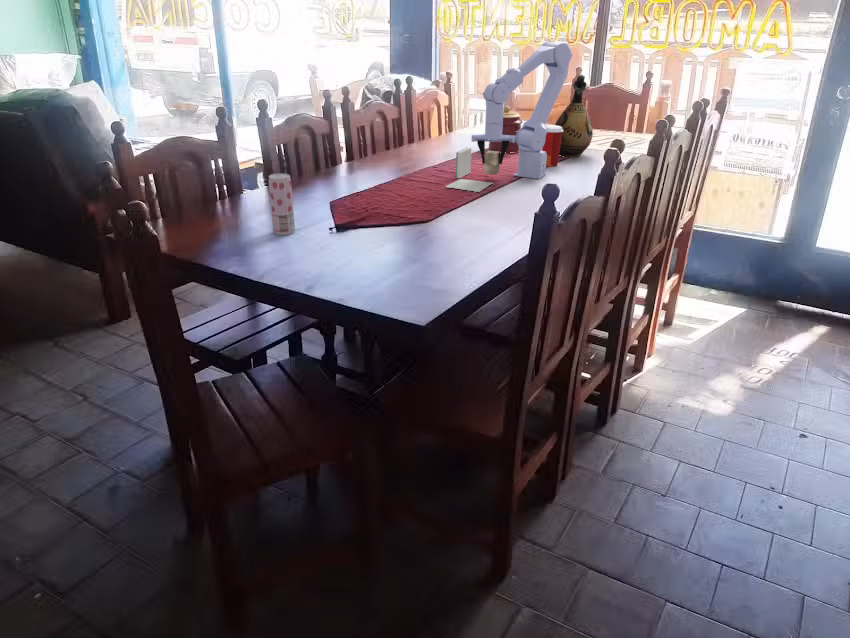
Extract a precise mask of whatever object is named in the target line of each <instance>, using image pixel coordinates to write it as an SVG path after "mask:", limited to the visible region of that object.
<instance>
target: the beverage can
mask: <svg viewBox="0 0 850 638" xmlns="http://www.w3.org/2000/svg"><path fill="white" fill-rule="evenodd" d="M268 188H269V190H268V191H269V199H270V209H271V211H270V213H271V222H272V232H273V233H274V234H275V235H277V236H289V235H293V234H294V233H295V231H296V224H295V214H294V211H295V210H294V204H293V203H294V201H293V200H294V199H293V190H292V189H293V188H292V179H291V175H290V174H289V173H283V172H281V173H272V174H270V175H268Z"/></svg>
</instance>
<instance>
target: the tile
mask: <svg viewBox="0 0 850 638" xmlns="http://www.w3.org/2000/svg"><path fill="white" fill-rule="evenodd" d="M455 162H456V163H455V179H456V178H461V177H463V176H465V175H467V174H469V173H470V174H471V172H472V171H471V169H472V168H471V164H472V147H466V148H463V149H461V150H459V151H457V152H456V159H455ZM470 174H469V175H470ZM467 176H468V175H467ZM465 177H466V176H465ZM463 178H464V177H463ZM461 179H462V178H461Z"/></svg>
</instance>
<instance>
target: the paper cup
mask: <svg viewBox="0 0 850 638" xmlns="http://www.w3.org/2000/svg"><path fill="white" fill-rule="evenodd" d="M545 127H546V129H547V134H546V137H545V144H544V146H543V147H542V148H541V151H545V152H546V154H547V161H546V167H547V166H548V167H547V168H553V167H554V168H555V167H558V163H559V157H560V156H559V151H560V144H561V138H562V132H563V129H562V127H561V126H556V125H555V124H554V125H552V124H551V125H549V124H548V125H545Z"/></svg>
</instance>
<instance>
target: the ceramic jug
mask: <svg viewBox="0 0 850 638" xmlns="http://www.w3.org/2000/svg"><path fill="white" fill-rule="evenodd" d="M585 78H586V76H585V75H582V74H580V75H578V76H577V78H576V80H574V82H573V89H574V93H573V97H572V99H571V101H570V103H569V104H568V105H567V106H566V107H565V109H564V110H563V111H562V112H561V114H560V115H559V117H558V118H557V120H556V121H555V123H554V125H556V126H561V127H562V129H563V132H562V138H561V144H560V151H559V155H561V156H564V157H568V158H567V159H570V158H571V159H577V158H580V157H581V156H582V154H583V153H584V152H585V151H586V149H588V148H589V147H590V145H591V143H592V140H593V133H594V132H593V125H592V120H591V117H590V115H589V112H588V110H587V108H586V107H585V104H584V102H583V94H584V93H583V92H584V91H586V87H587V83H586V81H585ZM561 156H560V157H561ZM564 157H563V158H564Z"/></svg>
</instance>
